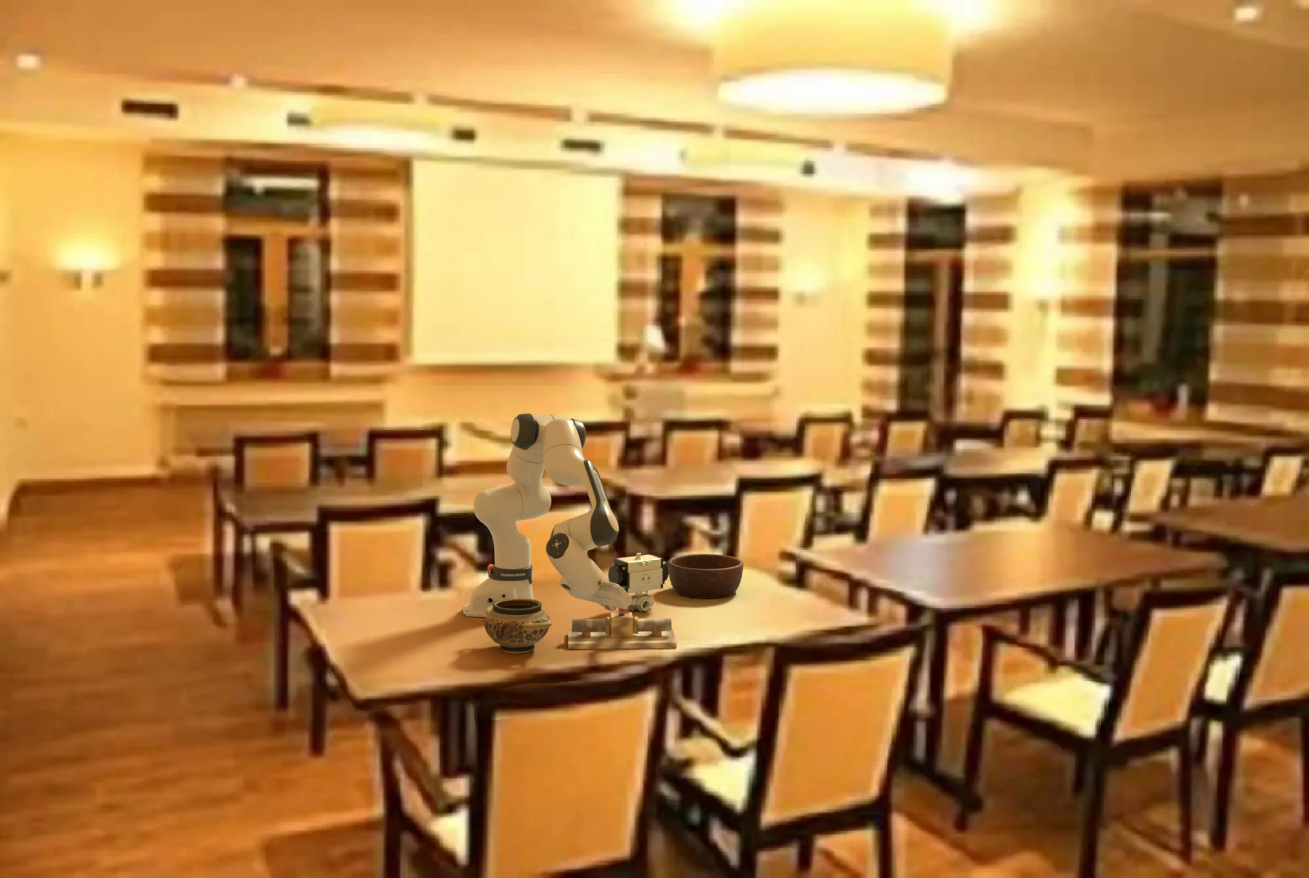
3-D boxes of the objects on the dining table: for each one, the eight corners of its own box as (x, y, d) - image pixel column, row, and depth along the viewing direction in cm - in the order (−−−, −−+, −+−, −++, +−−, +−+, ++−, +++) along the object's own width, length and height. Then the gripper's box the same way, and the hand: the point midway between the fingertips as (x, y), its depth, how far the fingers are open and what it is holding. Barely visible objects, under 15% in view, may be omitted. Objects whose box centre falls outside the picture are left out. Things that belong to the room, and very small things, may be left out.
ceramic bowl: (563, 664, 343) (574, 609, 344) (511, 660, 332) (522, 603, 332) (511, 645, 362) (522, 593, 362) (460, 640, 350) (471, 587, 351)
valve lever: (616, 600, 357) (616, 593, 357) (626, 600, 357) (626, 593, 357) (618, 613, 342) (618, 606, 342) (629, 613, 342) (629, 606, 342)
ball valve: (621, 616, 384) (621, 559, 382) (607, 610, 391) (607, 553, 389) (671, 609, 393) (671, 553, 391) (656, 603, 400) (657, 548, 398)
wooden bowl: (652, 593, 413) (652, 562, 412) (694, 579, 434) (694, 550, 432) (717, 605, 399) (717, 573, 398) (757, 590, 419) (757, 559, 418)
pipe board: (568, 648, 348) (568, 608, 347) (568, 634, 363) (568, 595, 362) (676, 647, 350) (677, 607, 349) (672, 633, 365) (672, 594, 364)
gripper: (621, 575, 330) (645, 605, 339) (566, 564, 344) (590, 593, 352) (609, 595, 328) (634, 624, 336) (554, 583, 341) (579, 611, 349)
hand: (611, 608), depth 344 cm, fingers closed
